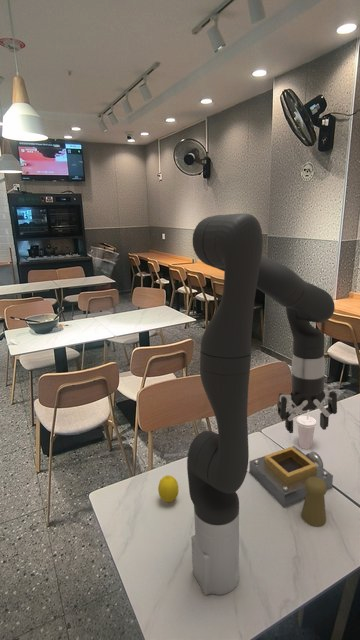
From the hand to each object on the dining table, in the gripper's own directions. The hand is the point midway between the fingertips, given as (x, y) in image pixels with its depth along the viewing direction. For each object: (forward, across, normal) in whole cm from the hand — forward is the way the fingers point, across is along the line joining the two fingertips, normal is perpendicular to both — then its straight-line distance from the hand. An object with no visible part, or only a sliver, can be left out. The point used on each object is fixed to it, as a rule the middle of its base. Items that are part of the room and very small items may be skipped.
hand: (306, 429), depth 93 cm
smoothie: (+23, +10, +24) cm, 35 cm away
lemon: (+21, -37, +4) cm, 43 cm away
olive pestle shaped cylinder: (+22, 0, -6) cm, 23 cm away
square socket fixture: (+22, -1, +9) cm, 24 cm away
